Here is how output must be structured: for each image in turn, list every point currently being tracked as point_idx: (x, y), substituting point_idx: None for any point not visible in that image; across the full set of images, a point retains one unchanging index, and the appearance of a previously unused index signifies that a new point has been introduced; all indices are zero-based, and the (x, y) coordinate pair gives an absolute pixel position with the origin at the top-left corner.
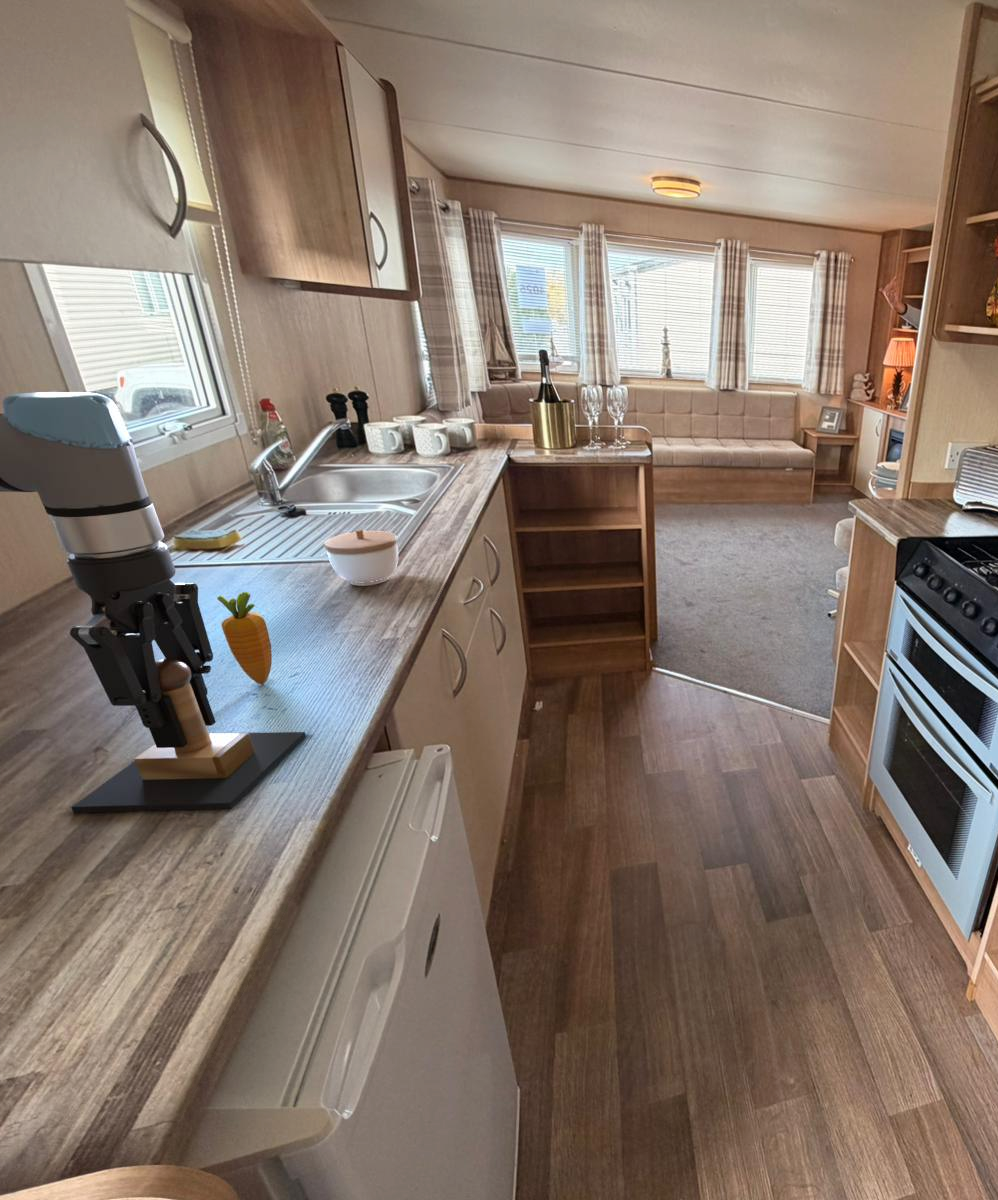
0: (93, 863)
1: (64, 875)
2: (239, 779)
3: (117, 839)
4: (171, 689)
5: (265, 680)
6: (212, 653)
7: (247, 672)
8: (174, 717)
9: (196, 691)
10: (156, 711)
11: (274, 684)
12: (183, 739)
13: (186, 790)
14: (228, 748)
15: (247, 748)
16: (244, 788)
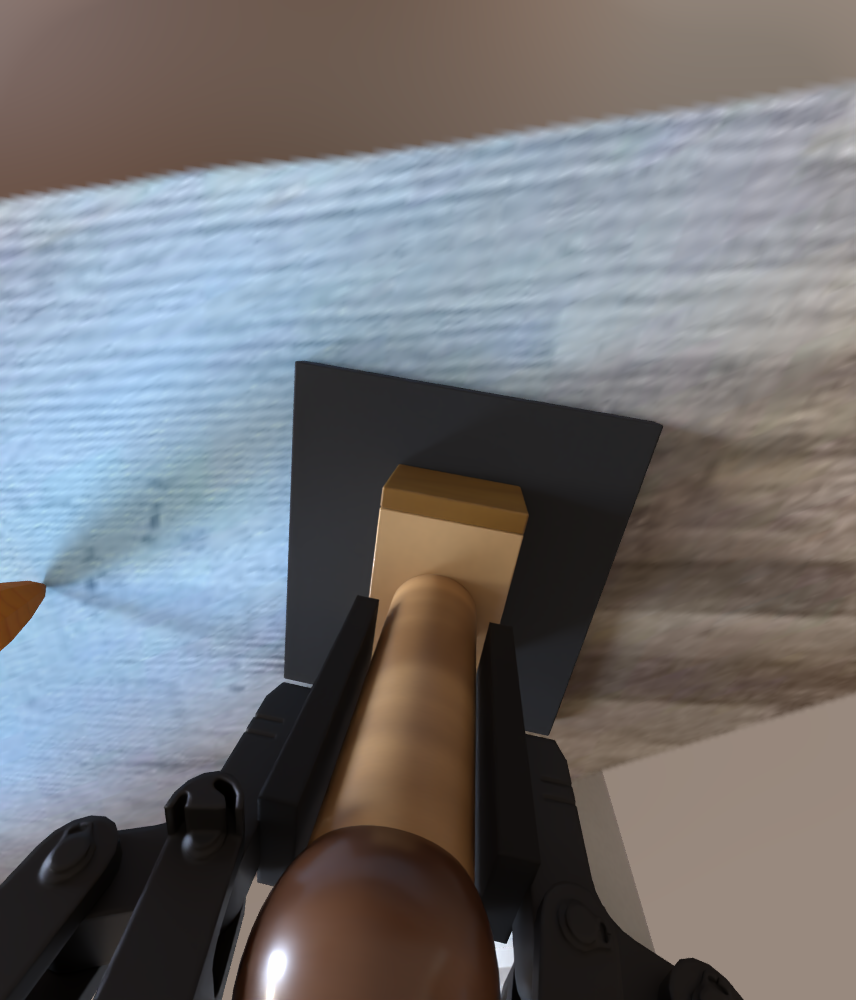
0: (768, 625)
1: (788, 655)
2: (537, 449)
3: (687, 618)
4: (470, 881)
5: (29, 582)
6: (24, 860)
7: (14, 631)
8: (509, 727)
9: (329, 735)
10: (558, 821)
11: (38, 558)
12: (501, 640)
13: (554, 557)
14: (476, 508)
15: (416, 476)
16: (595, 414)
